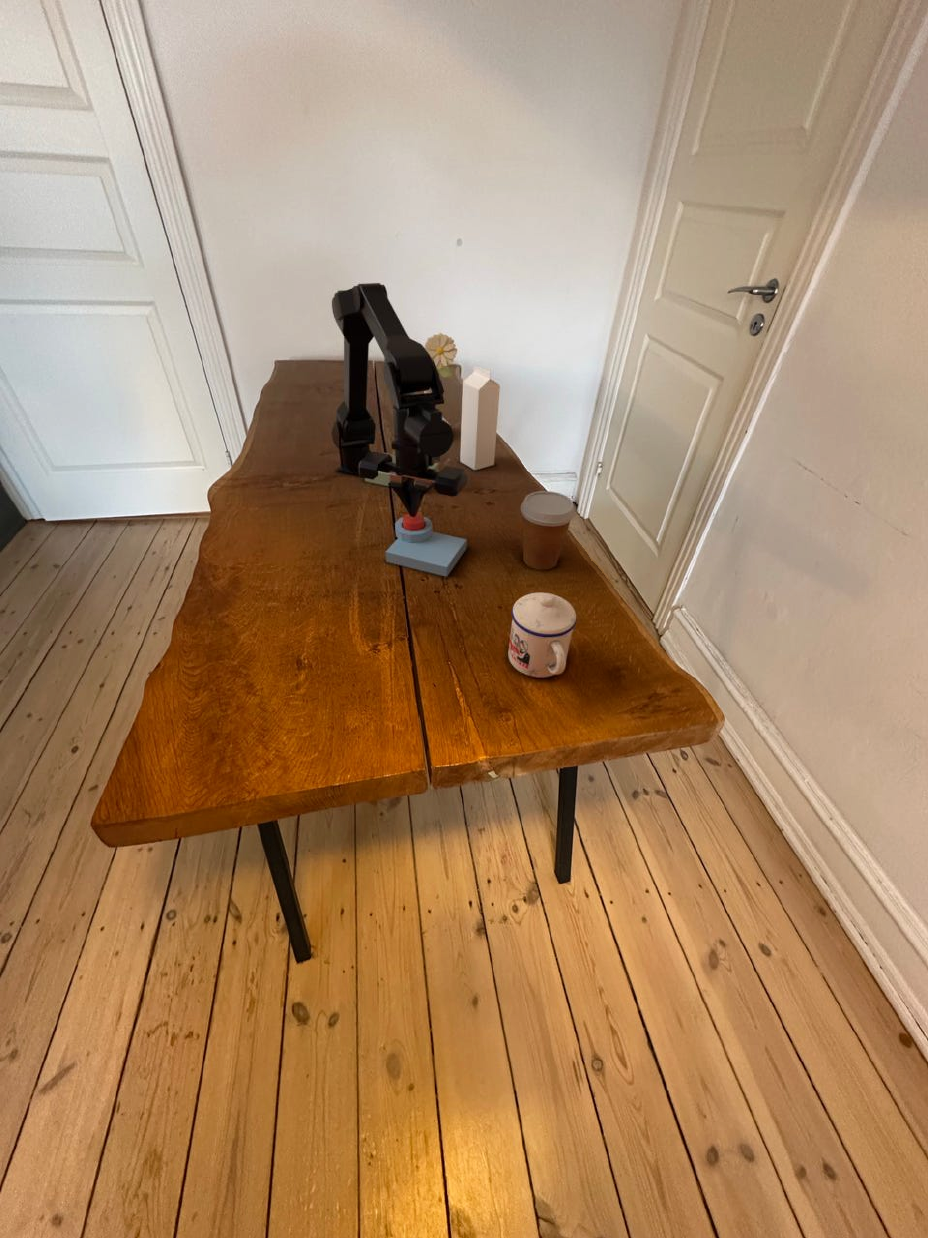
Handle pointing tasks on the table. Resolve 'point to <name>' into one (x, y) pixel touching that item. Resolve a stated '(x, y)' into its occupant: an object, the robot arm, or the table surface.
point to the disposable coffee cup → (545, 527)
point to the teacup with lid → (541, 634)
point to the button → (413, 522)
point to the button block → (425, 549)
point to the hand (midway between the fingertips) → (413, 515)
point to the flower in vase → (441, 354)
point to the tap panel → (385, 477)
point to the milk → (479, 419)
